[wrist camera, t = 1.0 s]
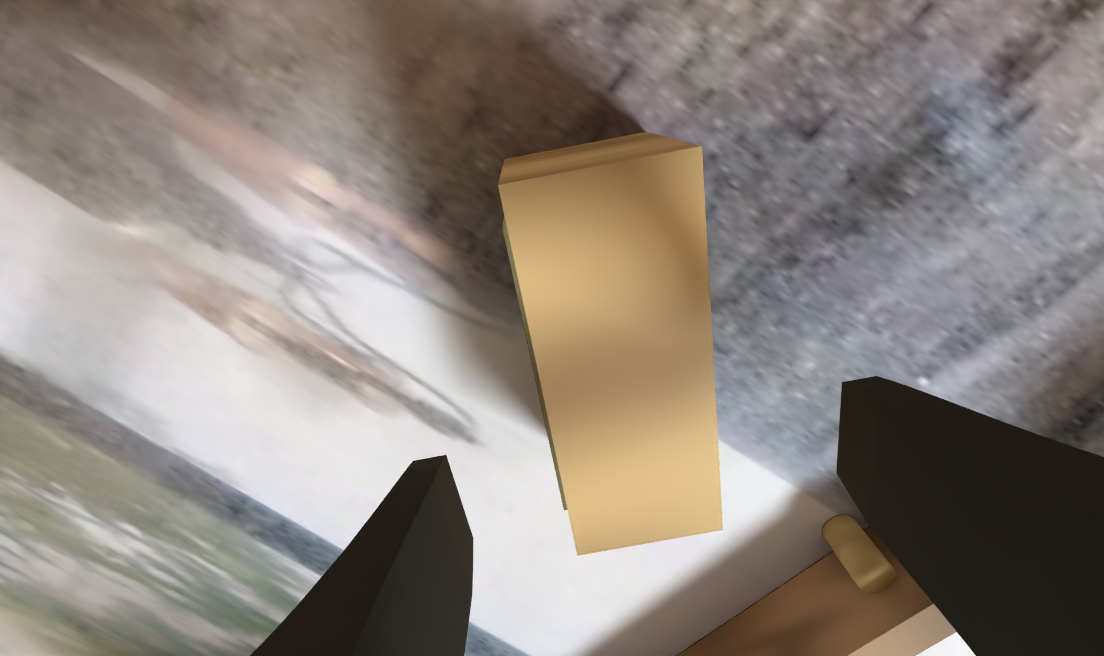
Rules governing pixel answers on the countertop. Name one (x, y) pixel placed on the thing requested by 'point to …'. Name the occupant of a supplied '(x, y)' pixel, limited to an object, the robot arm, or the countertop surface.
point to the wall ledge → (837, 607)
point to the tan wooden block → (620, 332)
